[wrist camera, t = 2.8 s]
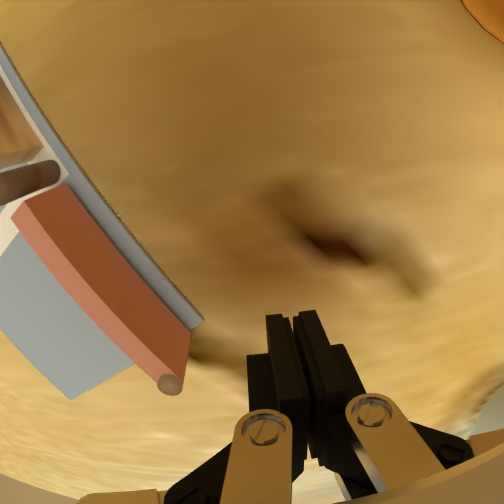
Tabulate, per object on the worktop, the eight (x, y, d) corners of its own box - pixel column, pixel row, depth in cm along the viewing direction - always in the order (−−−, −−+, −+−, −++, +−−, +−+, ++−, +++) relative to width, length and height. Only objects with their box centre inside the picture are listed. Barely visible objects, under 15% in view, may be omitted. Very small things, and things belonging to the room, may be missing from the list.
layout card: (-87, 187, 14) (-89, 188, 14) (-1, 40, 12) (-4, 40, 11) (71, 397, 21) (70, 400, 21) (204, 319, 19) (203, 322, 18)
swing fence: (52, 197, 15) (6, 219, 11) (65, 183, 15) (19, 202, 11) (180, 347, 18) (169, 398, 14) (195, 338, 18) (187, 390, 14)
